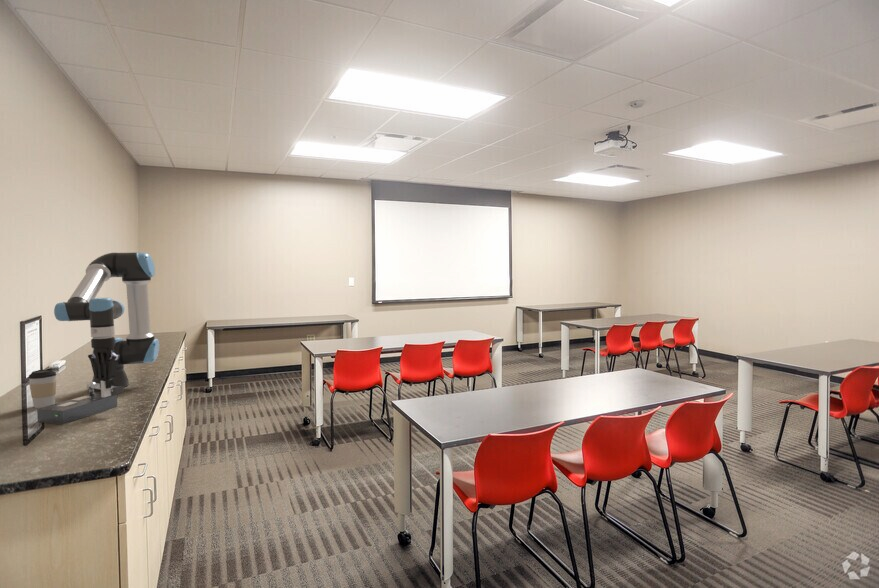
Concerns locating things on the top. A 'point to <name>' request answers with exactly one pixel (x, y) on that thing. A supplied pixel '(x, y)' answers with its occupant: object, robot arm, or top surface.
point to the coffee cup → (43, 387)
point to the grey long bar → (113, 388)
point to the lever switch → (76, 408)
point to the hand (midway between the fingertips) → (106, 396)
